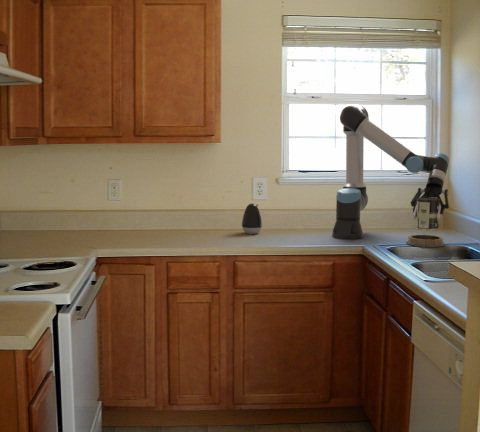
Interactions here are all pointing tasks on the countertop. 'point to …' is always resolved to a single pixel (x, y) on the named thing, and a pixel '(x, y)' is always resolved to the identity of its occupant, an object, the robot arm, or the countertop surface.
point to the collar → (425, 241)
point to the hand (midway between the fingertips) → (426, 218)
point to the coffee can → (427, 214)
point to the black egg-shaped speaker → (252, 219)
